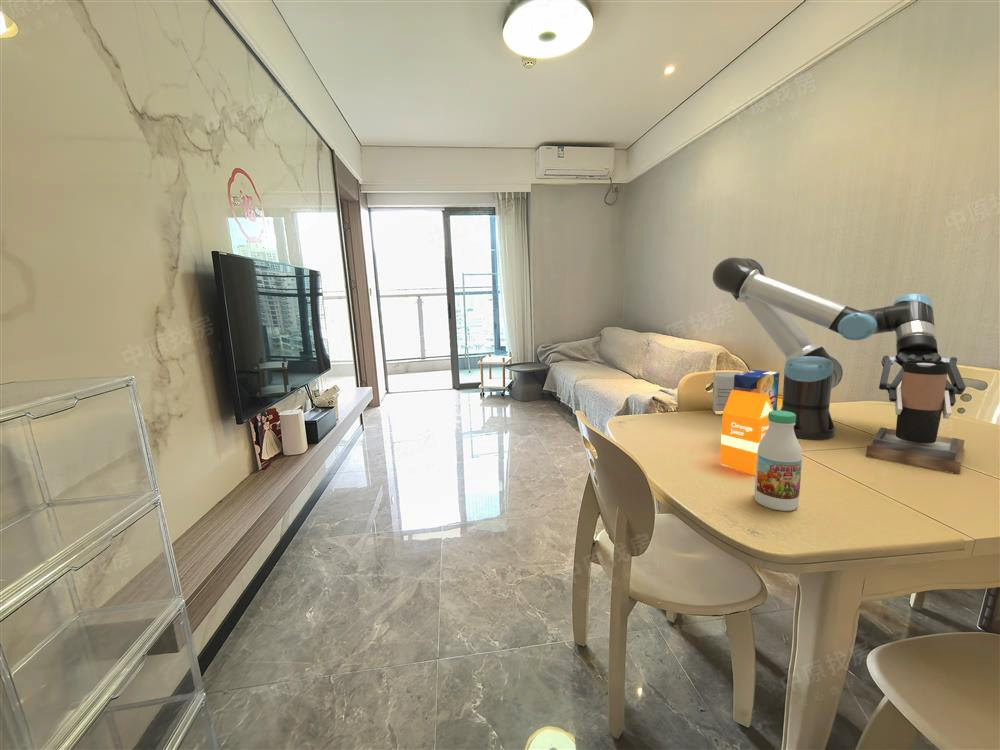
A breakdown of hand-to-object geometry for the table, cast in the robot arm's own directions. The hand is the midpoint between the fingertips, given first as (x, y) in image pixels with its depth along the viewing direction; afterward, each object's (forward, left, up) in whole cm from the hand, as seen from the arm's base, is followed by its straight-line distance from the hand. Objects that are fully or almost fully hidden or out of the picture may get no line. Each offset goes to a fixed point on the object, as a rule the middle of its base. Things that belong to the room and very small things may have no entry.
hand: (922, 413), depth 96 cm
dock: (+4, +6, -12) cm, 14 cm away
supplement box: (-29, +44, -13) cm, 55 cm away
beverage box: (-34, +7, -13) cm, 37 cm away
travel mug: (+1, +3, -8) cm, 8 cm away
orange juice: (-41, -7, -13) cm, 44 cm away
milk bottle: (-42, -26, -13) cm, 51 cm away
